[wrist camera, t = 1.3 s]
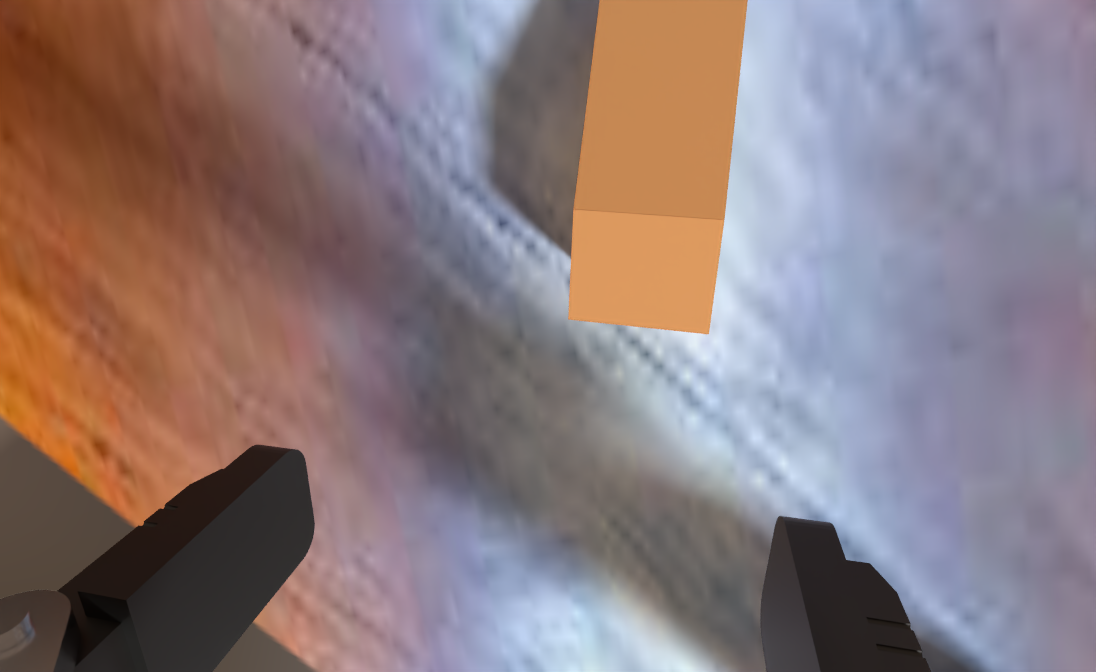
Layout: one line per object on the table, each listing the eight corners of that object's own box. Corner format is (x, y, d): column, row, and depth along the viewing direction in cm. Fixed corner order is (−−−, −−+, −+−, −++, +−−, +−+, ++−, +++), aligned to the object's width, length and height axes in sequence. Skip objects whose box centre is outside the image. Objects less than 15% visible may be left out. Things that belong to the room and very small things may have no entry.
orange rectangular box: (609, 2, 24) (584, -26, 19) (743, 3, 23) (757, -26, 18) (593, 275, 28) (568, 319, 23) (706, 286, 27) (708, 334, 22)
